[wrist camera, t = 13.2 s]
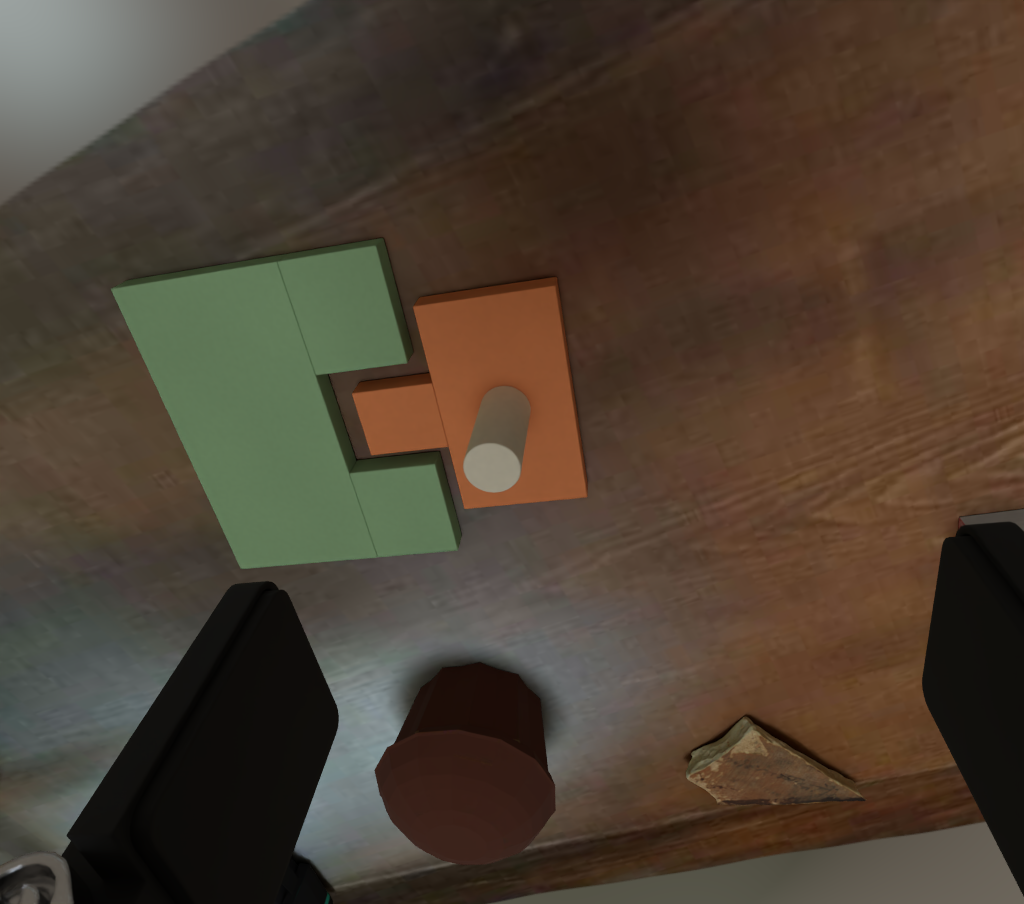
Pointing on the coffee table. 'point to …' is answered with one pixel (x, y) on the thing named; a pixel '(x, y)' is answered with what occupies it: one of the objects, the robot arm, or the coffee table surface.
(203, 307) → the notch pad
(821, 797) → the shard
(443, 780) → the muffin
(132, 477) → the coffee table surface
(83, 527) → the coffee table surface
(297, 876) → the virtual reality headset
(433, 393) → the tab pad
